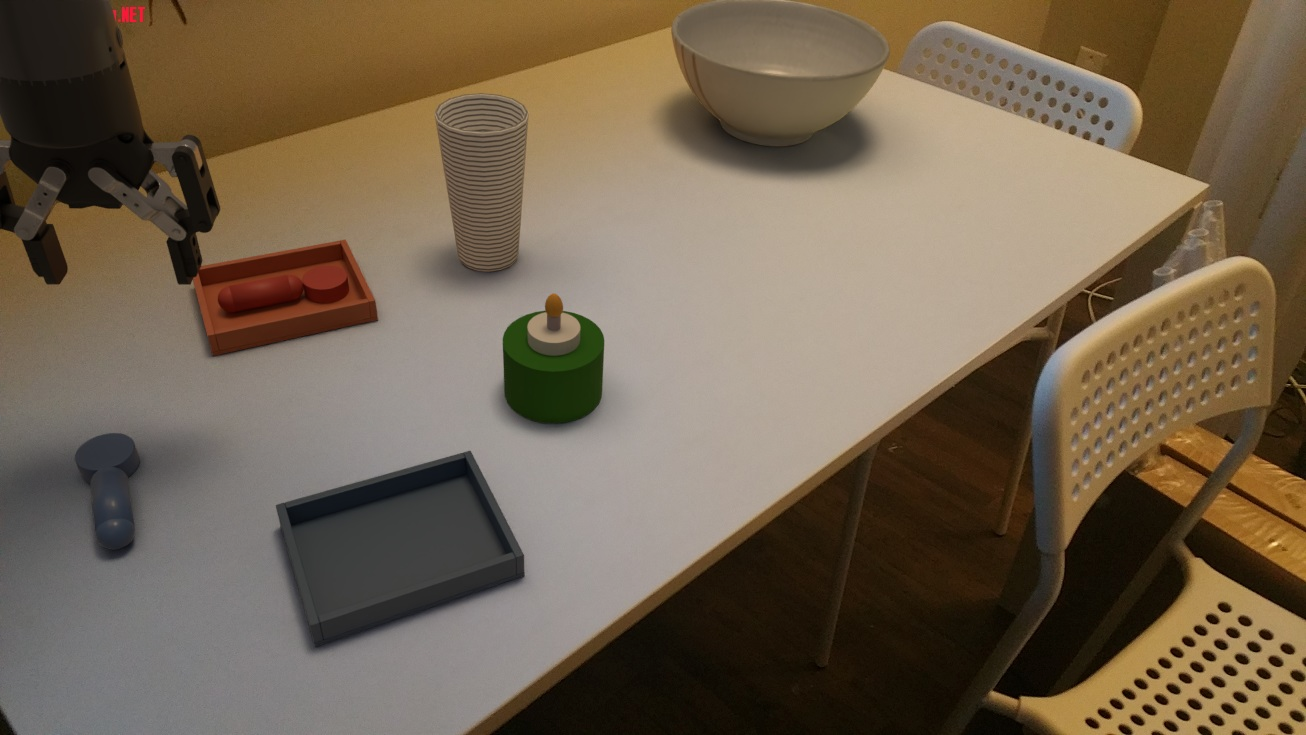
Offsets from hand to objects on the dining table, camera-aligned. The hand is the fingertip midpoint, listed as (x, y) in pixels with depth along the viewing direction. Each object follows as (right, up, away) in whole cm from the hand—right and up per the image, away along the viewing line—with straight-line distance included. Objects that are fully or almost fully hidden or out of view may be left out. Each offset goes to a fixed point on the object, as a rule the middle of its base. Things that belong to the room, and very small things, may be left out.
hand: (124, 278), depth 69 cm
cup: (+20, +5, +31) cm, 37 cm away
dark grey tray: (+19, -19, 0) cm, 27 cm away
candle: (+29, -8, +15) cm, 33 cm away
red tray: (+3, 0, +22) cm, 22 cm away
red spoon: (+3, 0, +22) cm, 22 cm away
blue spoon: (-2, -16, +2) cm, 16 cm away
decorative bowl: (+52, +25, +60) cm, 83 cm away
